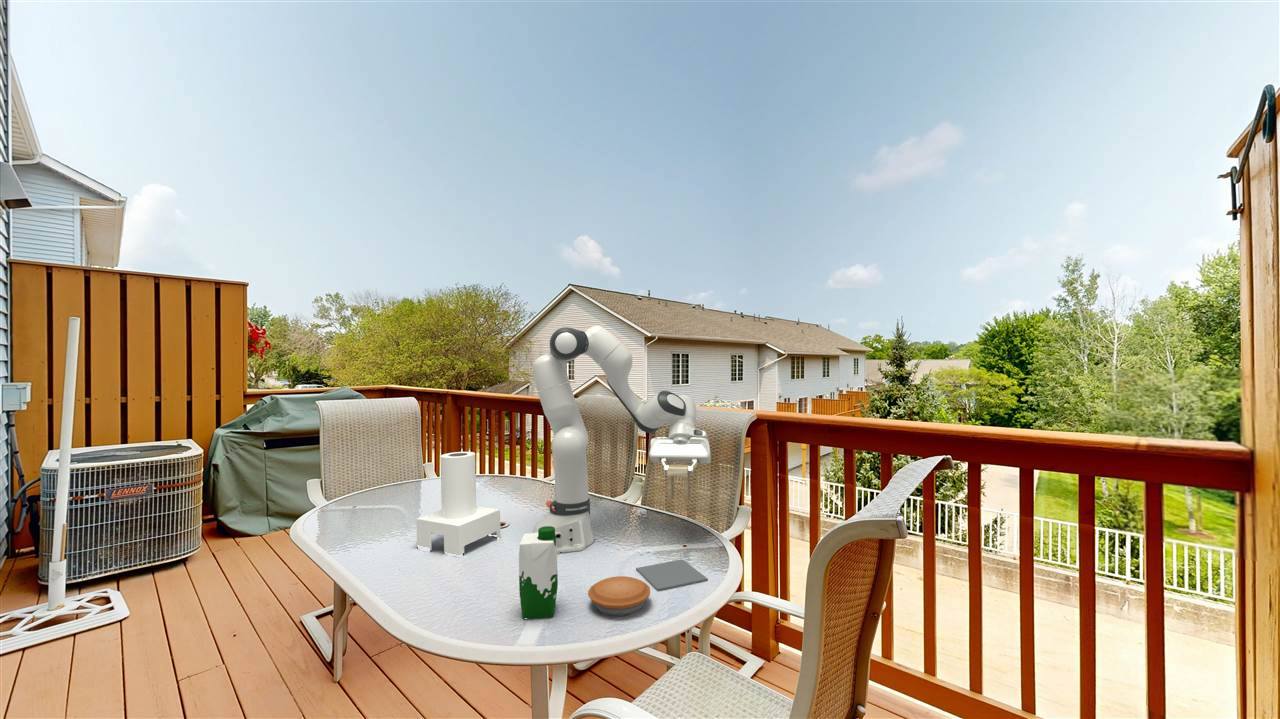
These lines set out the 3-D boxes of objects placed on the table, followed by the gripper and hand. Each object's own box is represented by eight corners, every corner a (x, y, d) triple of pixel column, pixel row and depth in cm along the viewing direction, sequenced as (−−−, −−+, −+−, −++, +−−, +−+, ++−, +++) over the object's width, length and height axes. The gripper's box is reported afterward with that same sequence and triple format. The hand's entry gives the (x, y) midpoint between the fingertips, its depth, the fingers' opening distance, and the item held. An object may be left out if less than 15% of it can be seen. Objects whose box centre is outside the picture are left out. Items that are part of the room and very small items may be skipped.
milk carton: (556, 619, 121) (554, 534, 121) (517, 621, 120) (515, 536, 120) (559, 601, 129) (557, 522, 129) (523, 604, 128) (521, 524, 128)
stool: (688, 503, 161) (687, 468, 161) (667, 503, 162) (667, 468, 162) (690, 498, 167) (689, 464, 167) (670, 497, 168) (670, 464, 168)
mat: (657, 591, 134) (657, 589, 134) (636, 570, 148) (636, 568, 148) (707, 580, 140) (707, 578, 140) (682, 561, 154) (682, 559, 154)
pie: (600, 626, 117) (599, 605, 117) (580, 598, 131) (580, 578, 131) (661, 612, 123) (660, 591, 123) (636, 586, 137) (635, 568, 137)
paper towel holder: (460, 531, 185) (458, 448, 185) (500, 538, 177) (498, 451, 177) (417, 549, 168) (415, 457, 168) (459, 558, 160) (457, 461, 160)
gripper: (650, 431, 174) (645, 466, 164) (710, 431, 169) (709, 467, 160) (652, 442, 178) (647, 476, 168) (712, 443, 174) (710, 478, 164)
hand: (678, 472), depth 164 cm, fingers closed on stool, 6 cm apart
